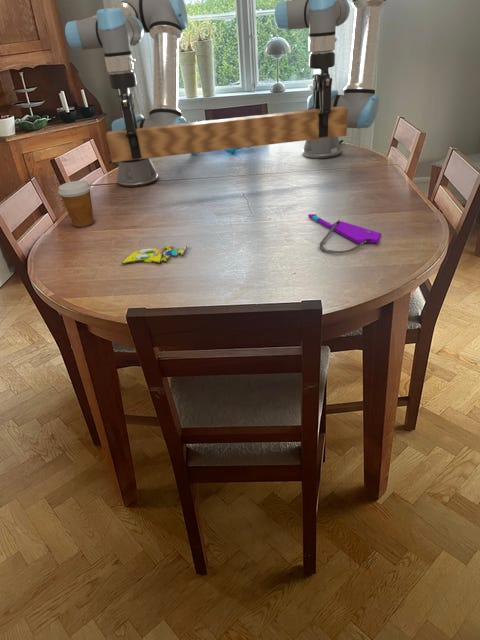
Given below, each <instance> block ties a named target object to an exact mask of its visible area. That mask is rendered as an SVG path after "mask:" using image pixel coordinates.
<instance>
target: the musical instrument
mask: <svg viewBox="0 0 480 640" xmlns="http://www.w3.org/2000/svg"><path fill="white" fill-rule="evenodd" d="M308 218H309V219H311V220H313V221H314V222H316V223H318V224H320V225H322V226H324V227H326V228H328V229H330V230H329V231H328V232H327V233H326V234H325V236H324V237H323V239H322V240H321V241H320V243H319V249H320V250H321V251H323V252H324V253H325V252H326V253H335V254H344V253H348V252H352V251H355V250H356V249H358V248H360V247H361V246H363V245H364V244H366V243H371V244H378V243H379V242H380V239H381V237H382V233H381V232H378V231H376V230H371V229H368V228H365V227H362V226H358V225H355V224H353V223H348V222H345V221H342V220H339V219H338V220H337V221H336V222H334V223H331V222H328V221H327V220H324V219H323V218H321V217H319V216H318V215H317V214H315V213H309V214H308ZM333 231H334V232H335V233H337V234H339V235H341V236H343V237H344V238H346V239H348V240H349V241H352V242H354V243H355V244H357V245H356V246H354V247H352V248H350V249H346V250H332V249H325V248H324V243H325V242H326V240H327V238H328V237H329V236H330V235H331V233H332V232H333Z"/></svg>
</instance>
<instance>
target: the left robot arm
mask: <svg viewBox="0 0 480 640" xmlns="http://www.w3.org/2000/svg"><path fill="white" fill-rule="evenodd" d="M185 4H186V3H185V1H184V0H120V1H118V2H115V3H114V4H113V6H112V7H110V8H100V9H98V10H97V11H96V14H94V15H92V16H89V17H87V18H84V19H78V20H77V19H75V20H71V21H67V22H66V24H65V27H64V35H65V38H66V43H67V44H68V45H69V48H71V49H72V50H74V51H84V50H86V51H87V50H95V49H103V55H104V61H105V67H106V71H107V73H109V75H108V79H109V80H108V81H109V84H110V88H111V89H112V90H119V95H118V101H119V103H120V108H121V112H122V115H123V117H120V118H118V119H117V118H116V119H115V120H113V121H112V122H111V131H118V130H126V131H127V135H125V136H126V137H128V139H129V144H130V149H131V154H132V159H134V158H141V153H140V147H139V142H138V136H137V133H136V128H145V127H154V126H164V125H173V124H182V123H188V122H187V120H186V118H185V117H184V116H183V113H182V112H181V110H180V109H179V41H180V40H181V39H183V31H186V30H188V27H189V18H188V12H187V7H186V5H185ZM145 34H149V36H150V37H151V38H152V40H153V107H152V108H151V109H150V110H149V117H148V118H144V116H143V114H142V113H136V111H135V103H134V97H135V96H134V94H133V93H131V90H130V89H132V88H135V87H137V85H138V82H137V77H136V73H135V71H134V70H135V67H134V63H135V61H136V59H135V57H132V50H131V47H132V46H133V47H134V46H137V45H138V44H140V43H141V42H142V40H143V39H144V35H145ZM112 163H113V164H114V165H115V166H116V167H117V168H118V170H117V183H118V186H120V187H123V188H124V187H125V188H136V187H137V188H138V187H145V186H147V185H148V186H149V185H151V184H154V183H156V182H157V181H158V180H159V176H158V172H157V169H156V168H155V166H154V163H153V161H152V159H151V158H146V159H137V160H129V161H120V162H112V160H110V161H109V164H108V165H111V164H112Z"/></svg>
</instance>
